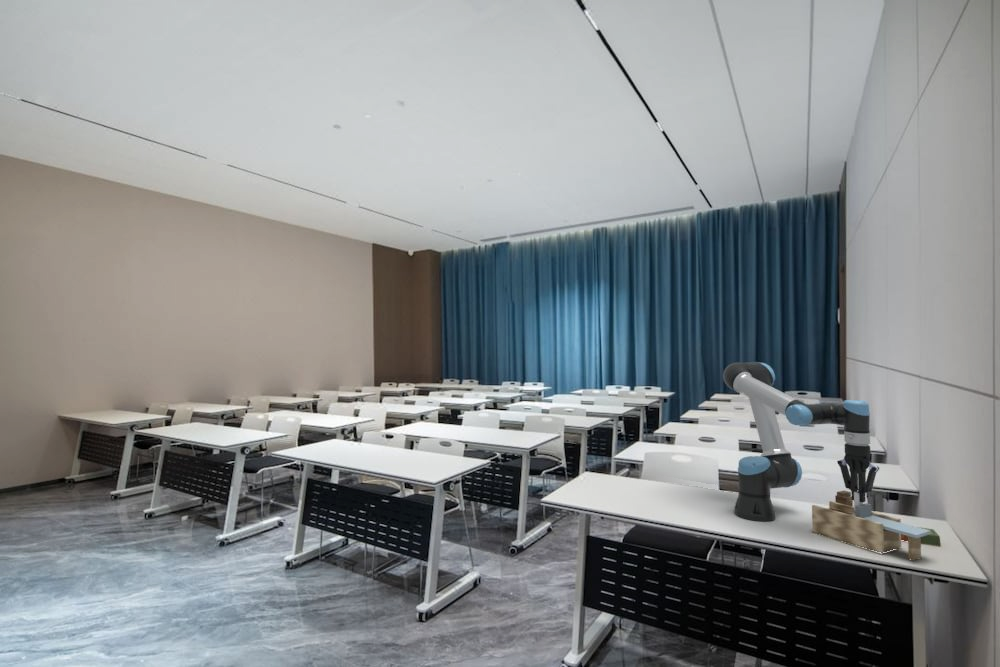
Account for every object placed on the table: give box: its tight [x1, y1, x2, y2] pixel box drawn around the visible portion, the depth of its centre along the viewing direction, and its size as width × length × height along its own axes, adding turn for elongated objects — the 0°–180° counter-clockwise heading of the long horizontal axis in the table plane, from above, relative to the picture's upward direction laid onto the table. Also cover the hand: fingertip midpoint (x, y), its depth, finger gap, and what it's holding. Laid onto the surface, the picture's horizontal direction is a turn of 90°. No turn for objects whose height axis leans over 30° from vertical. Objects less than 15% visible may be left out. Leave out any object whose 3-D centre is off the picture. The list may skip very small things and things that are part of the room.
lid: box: [851, 502, 931, 538], centre depth 171 cm, size 21×9×5 cm, turn 27°
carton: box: [901, 526, 942, 548], centre depth 181 cm, size 8×16×4 cm, turn 61°
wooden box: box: [811, 500, 922, 561], centre depth 177 cm, size 30×12×10 cm, turn 27°
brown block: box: [834, 490, 854, 507], centre depth 193 cm, size 5×4×14 cm
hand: (858, 510), depth 179 cm, fingers closed
